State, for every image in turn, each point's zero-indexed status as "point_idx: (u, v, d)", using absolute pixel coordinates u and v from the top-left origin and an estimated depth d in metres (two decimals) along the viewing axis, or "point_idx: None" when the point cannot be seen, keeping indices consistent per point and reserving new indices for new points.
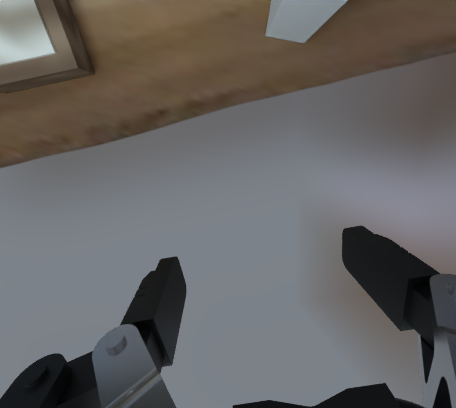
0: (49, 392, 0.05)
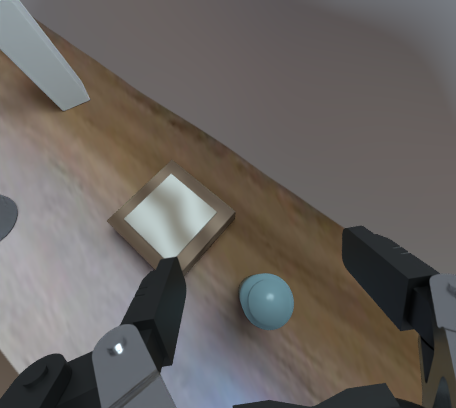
0: (49, 392, 0.05)
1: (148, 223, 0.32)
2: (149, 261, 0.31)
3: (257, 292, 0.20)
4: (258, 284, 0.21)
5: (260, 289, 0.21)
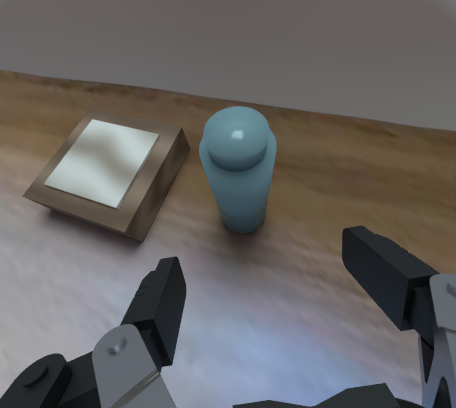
0: (49, 392, 0.05)
1: (77, 176, 0.24)
2: (89, 217, 0.22)
3: (213, 127, 0.13)
4: (211, 119, 0.14)
5: (216, 122, 0.13)
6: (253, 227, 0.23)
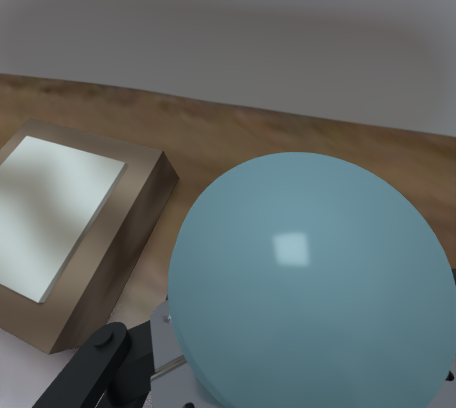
0: (118, 352, 0.06)
1: None
2: None
3: (212, 238, 0.03)
4: (206, 199, 0.04)
5: (223, 217, 0.04)
6: None
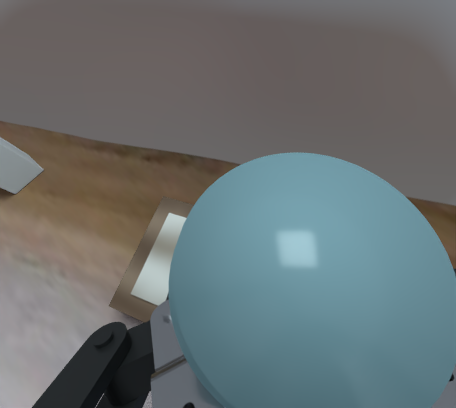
0: (119, 352, 0.06)
1: (165, 286, 0.23)
2: None
3: (213, 239, 0.03)
4: (206, 200, 0.04)
5: (224, 218, 0.04)
6: None
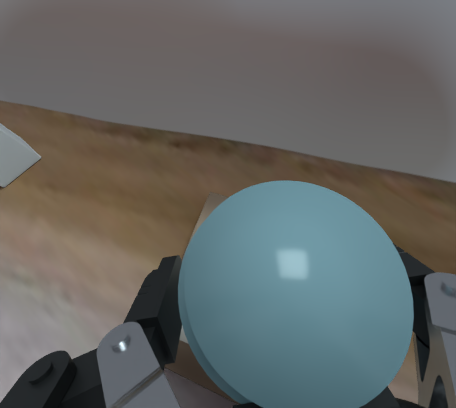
0: (55, 388, 0.05)
1: None
2: None
3: (217, 255, 0.04)
4: (211, 221, 0.05)
5: (226, 237, 0.04)
6: None
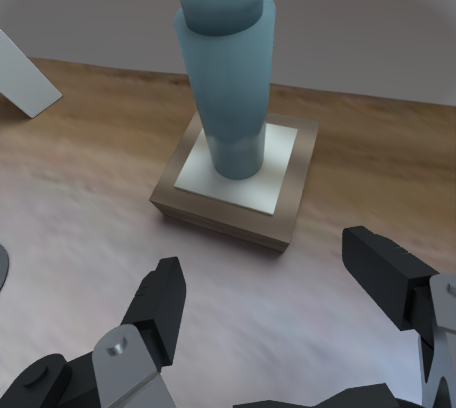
0: (49, 392, 0.05)
1: (212, 177, 0.21)
2: (240, 225, 0.19)
3: None
4: None
5: None
6: (249, 168, 0.19)
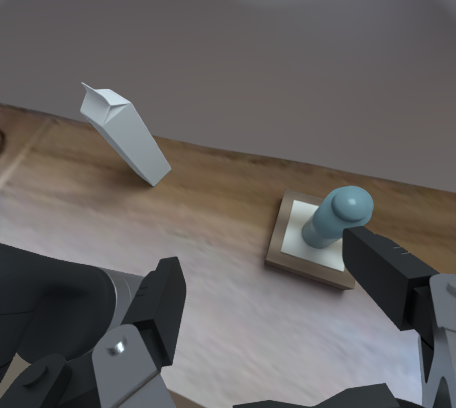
0: (49, 392, 0.05)
1: (303, 246, 0.36)
2: (324, 277, 0.34)
3: (341, 198, 0.25)
4: (339, 192, 0.25)
5: (342, 195, 0.25)
6: (328, 245, 0.34)
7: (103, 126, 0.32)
